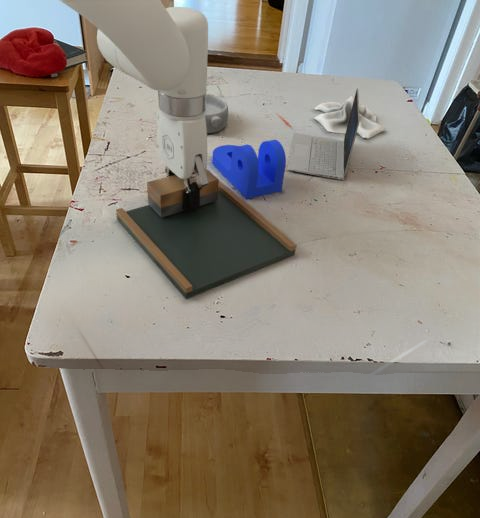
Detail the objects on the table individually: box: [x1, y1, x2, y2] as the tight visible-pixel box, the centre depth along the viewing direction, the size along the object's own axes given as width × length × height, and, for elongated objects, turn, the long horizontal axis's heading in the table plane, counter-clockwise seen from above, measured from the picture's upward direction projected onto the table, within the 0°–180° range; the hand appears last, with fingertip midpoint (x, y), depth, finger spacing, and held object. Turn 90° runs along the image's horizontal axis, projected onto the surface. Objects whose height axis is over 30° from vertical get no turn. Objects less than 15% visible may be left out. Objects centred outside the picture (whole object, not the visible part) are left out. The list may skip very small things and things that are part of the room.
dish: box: [204, 93, 229, 134], centre depth 114 cm, size 14×14×5 cm
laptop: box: [287, 88, 360, 181], centre depth 103 cm, size 18×12×13 cm
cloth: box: [313, 95, 386, 140], centre depth 122 cm, size 22×19×6 cm
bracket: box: [211, 139, 287, 200], centre depth 97 cm, size 18×8×9 cm, turn 29°
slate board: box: [115, 180, 297, 300], centre depth 83 cm, size 22×24×2 cm
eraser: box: [146, 169, 220, 218], centre depth 86 cm, size 12×5×4 cm, turn 125°
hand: (183, 200), depth 88 cm, fingers closed on eraser, 5 cm apart
